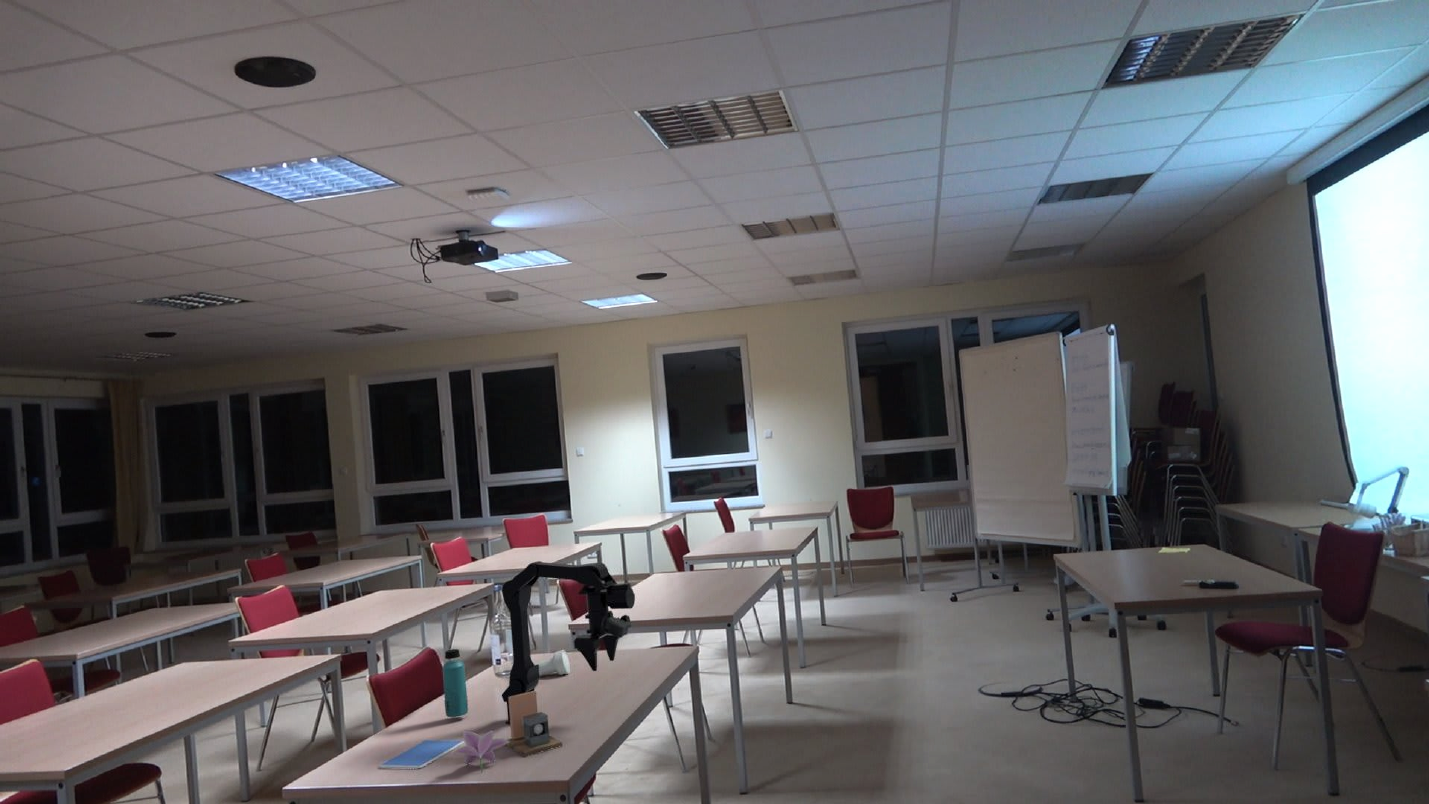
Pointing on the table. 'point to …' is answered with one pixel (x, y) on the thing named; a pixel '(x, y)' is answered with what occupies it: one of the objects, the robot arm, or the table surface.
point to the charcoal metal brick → (529, 735)
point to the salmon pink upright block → (522, 713)
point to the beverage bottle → (454, 685)
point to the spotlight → (555, 664)
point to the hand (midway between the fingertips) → (603, 665)
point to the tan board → (525, 750)
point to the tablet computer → (421, 754)
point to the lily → (480, 746)
